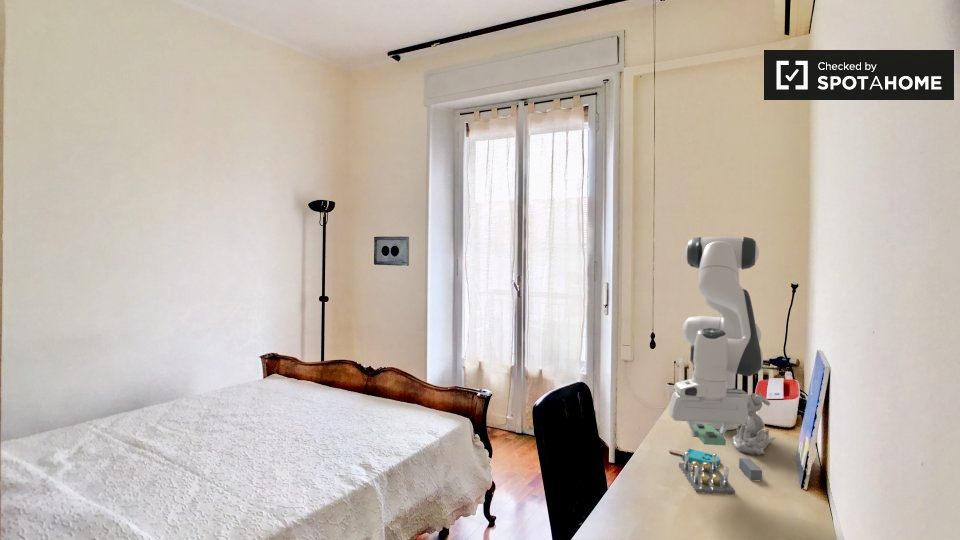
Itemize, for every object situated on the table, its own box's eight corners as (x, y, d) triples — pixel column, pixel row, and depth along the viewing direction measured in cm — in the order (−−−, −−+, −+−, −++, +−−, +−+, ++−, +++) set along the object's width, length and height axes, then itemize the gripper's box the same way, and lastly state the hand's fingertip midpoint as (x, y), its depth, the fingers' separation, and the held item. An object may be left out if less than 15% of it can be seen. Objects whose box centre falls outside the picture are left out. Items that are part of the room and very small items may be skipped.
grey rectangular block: (739, 467, 154) (739, 458, 154) (749, 468, 154) (750, 458, 154) (750, 480, 146) (750, 469, 146) (761, 481, 146) (762, 470, 146)
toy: (672, 443, 168) (723, 456, 159) (672, 449, 168) (722, 462, 159) (665, 450, 162) (717, 464, 153) (665, 456, 162) (716, 470, 153)
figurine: (773, 461, 159) (776, 403, 158) (727, 452, 166) (729, 396, 165) (775, 442, 174) (778, 389, 173) (732, 434, 181) (735, 383, 180)
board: (690, 428, 151) (690, 421, 151) (710, 429, 151) (710, 422, 151) (704, 444, 140) (704, 436, 139) (725, 445, 139) (725, 437, 139)
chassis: (678, 466, 155) (679, 447, 154) (713, 467, 154) (714, 449, 154) (695, 492, 139) (696, 471, 139) (735, 494, 138) (736, 474, 138)
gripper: (743, 386, 147) (741, 435, 148) (668, 383, 149) (666, 431, 149) (753, 393, 141) (750, 443, 141) (674, 389, 142) (672, 439, 143)
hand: (707, 437), depth 145 cm, fingers closed on board, 5 cm apart
